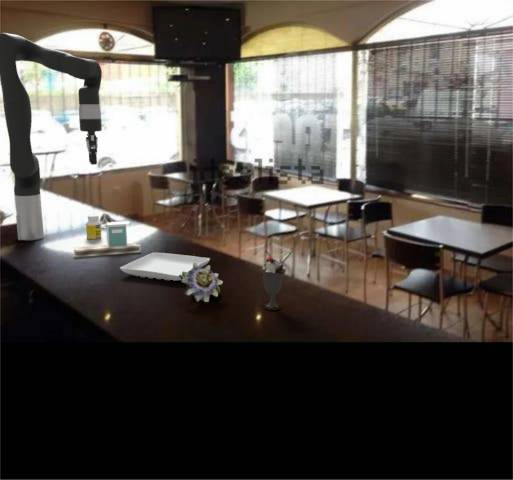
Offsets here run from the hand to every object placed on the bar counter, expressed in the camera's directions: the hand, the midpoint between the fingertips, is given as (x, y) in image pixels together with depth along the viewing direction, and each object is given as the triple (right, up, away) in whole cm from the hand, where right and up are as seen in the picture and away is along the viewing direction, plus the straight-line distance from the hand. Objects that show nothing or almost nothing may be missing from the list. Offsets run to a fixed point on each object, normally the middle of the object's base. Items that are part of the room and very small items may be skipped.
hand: (93, 163), depth 206 cm
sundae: (+63, -45, -59) cm, 98 cm away
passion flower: (+44, -44, -52) cm, 81 cm away
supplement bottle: (-3, -28, +12) cm, 31 cm away
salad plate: (+31, -38, -28) cm, 57 cm away
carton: (+10, -31, -3) cm, 32 cm away
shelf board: (+6, -32, -5) cm, 33 cm away
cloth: (-6, -22, +43) cm, 49 cm away
